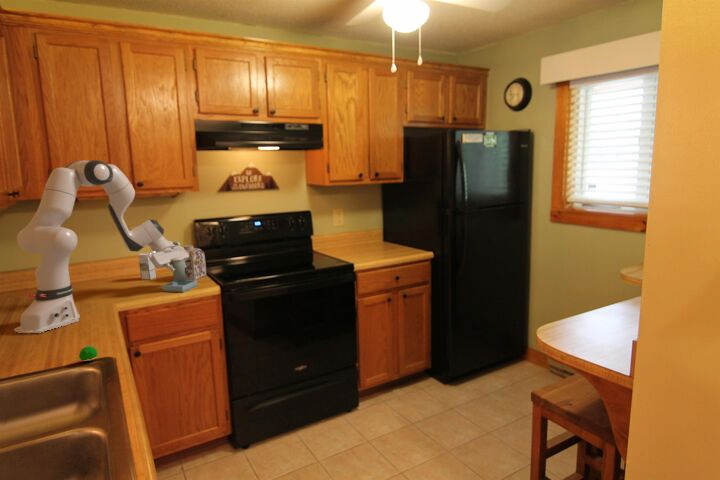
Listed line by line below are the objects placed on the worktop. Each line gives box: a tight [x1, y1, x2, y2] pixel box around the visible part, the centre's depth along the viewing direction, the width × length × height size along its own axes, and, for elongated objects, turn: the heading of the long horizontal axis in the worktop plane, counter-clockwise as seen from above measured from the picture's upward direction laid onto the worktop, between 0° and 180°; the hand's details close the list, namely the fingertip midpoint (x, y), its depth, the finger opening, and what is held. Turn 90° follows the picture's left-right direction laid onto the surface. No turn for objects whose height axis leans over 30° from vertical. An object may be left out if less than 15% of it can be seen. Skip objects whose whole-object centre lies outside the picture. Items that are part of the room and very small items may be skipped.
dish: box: [162, 279, 199, 293], centre depth 226 cm, size 12×12×3 cm
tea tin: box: [171, 257, 186, 282], centre depth 225 cm, size 6×6×12 cm
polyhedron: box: [78, 345, 99, 361], centre depth 143 cm, size 5×5×5 cm
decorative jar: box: [183, 244, 207, 281], centre depth 248 cm, size 12×12×18 cm
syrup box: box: [137, 252, 157, 281], centre depth 249 cm, size 6×6×14 cm
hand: (179, 269), depth 225 cm, fingers closed on tea tin, 5 cm apart
